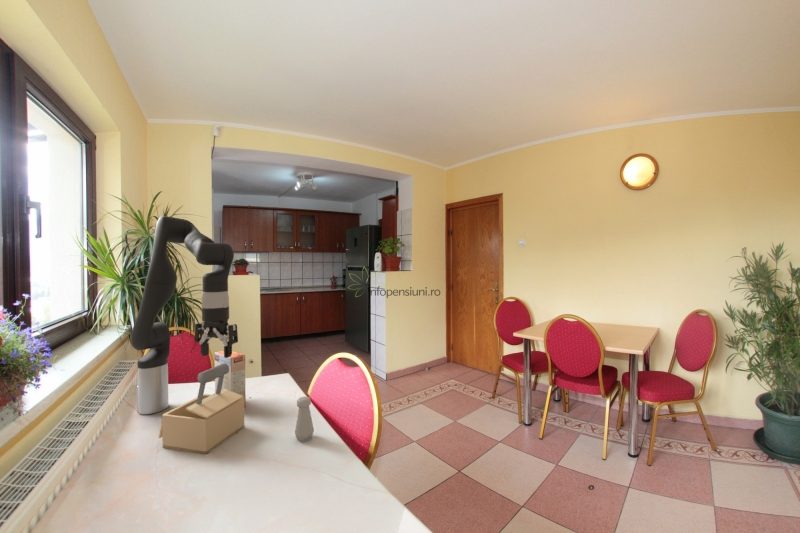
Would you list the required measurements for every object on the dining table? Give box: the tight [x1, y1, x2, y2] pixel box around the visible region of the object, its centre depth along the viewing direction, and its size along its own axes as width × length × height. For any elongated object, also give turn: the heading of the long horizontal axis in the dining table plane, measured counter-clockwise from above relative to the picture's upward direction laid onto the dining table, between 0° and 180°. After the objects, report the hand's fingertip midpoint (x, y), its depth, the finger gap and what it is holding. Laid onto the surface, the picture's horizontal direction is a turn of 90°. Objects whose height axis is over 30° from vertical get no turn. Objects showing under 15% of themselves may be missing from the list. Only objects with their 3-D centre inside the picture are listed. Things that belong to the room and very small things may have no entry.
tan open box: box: [158, 393, 245, 455], centre depth 105 cm, size 18×16×10 cm
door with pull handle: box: [186, 363, 243, 419], centre depth 103 cm, size 9×15×11 cm, turn 167°
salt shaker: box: [294, 396, 315, 443], centre depth 103 cm, size 6×6×13 cm
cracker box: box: [214, 349, 247, 409], centre depth 127 cm, size 14×6×21 cm, turn 52°
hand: (216, 356), depth 103 cm, fingers open, 8 cm apart
